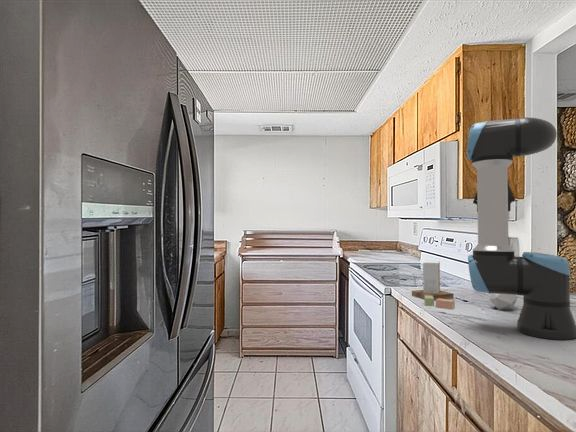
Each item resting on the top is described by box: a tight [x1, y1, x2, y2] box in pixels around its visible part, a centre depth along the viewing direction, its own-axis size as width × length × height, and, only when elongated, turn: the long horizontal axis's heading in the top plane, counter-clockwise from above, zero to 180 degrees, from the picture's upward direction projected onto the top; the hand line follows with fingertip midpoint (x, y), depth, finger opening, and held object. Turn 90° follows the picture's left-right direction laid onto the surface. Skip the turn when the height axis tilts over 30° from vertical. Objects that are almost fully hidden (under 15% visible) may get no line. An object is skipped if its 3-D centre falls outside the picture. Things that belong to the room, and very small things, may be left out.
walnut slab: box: [411, 289, 454, 301], centre depth 172 cm, size 12×12×2 cm
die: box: [488, 293, 519, 311], centre depth 150 cm, size 8×9×10 cm
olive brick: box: [423, 295, 435, 307], centre depth 159 cm, size 6×3×3 cm, turn 166°
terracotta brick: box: [435, 299, 456, 310], centre depth 153 cm, size 6×3×3 cm, turn 47°
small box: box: [422, 260, 441, 294], centre depth 173 cm, size 8×6×13 cm
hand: (492, 219), depth 170 cm, fingers open, 13 cm apart
